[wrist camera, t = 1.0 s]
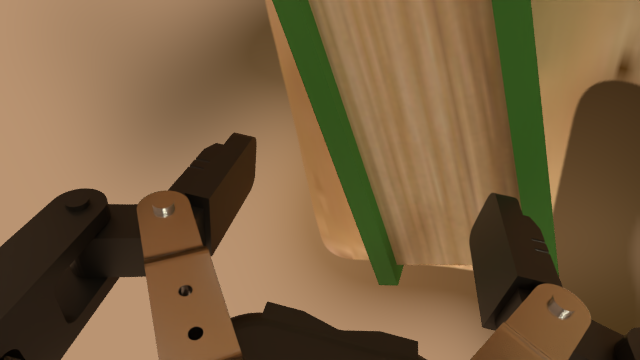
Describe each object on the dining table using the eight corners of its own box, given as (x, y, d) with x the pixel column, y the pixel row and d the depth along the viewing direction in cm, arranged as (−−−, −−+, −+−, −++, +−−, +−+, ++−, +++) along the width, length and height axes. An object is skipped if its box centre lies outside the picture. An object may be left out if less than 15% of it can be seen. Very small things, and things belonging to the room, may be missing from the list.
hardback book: (528, 81, 33) (560, 290, 15) (441, 99, 37) (379, 285, 18) (500, -170, 26) (493, -373, 7) (393, -117, 29) (210, -165, 11)
